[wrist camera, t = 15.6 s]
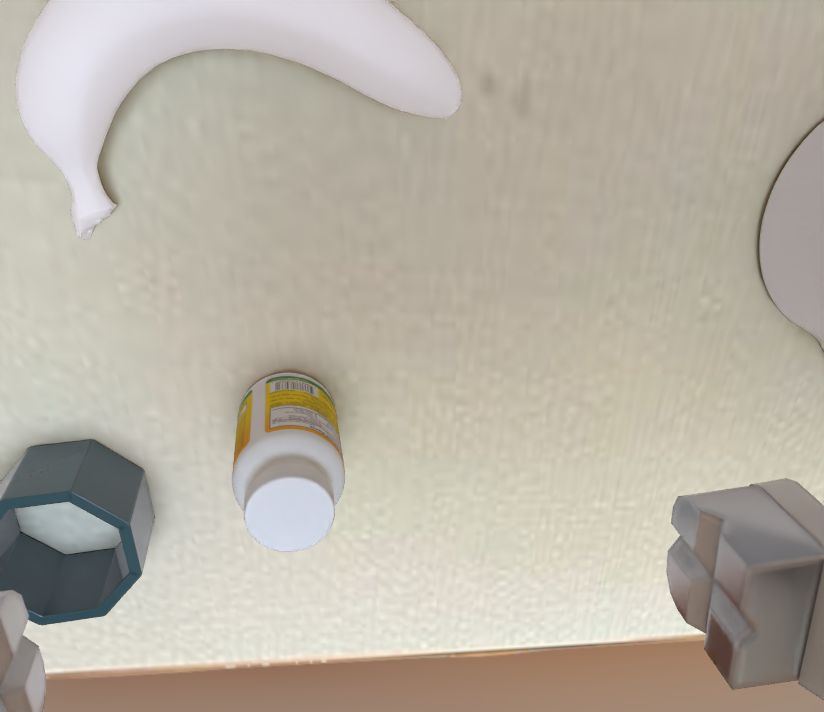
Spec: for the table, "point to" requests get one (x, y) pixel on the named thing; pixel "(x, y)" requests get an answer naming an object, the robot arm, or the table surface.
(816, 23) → the table surface
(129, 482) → the holder
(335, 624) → the table surface
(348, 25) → the banana
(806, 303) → the robot arm
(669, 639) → the table surface
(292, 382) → the supplement bottle
